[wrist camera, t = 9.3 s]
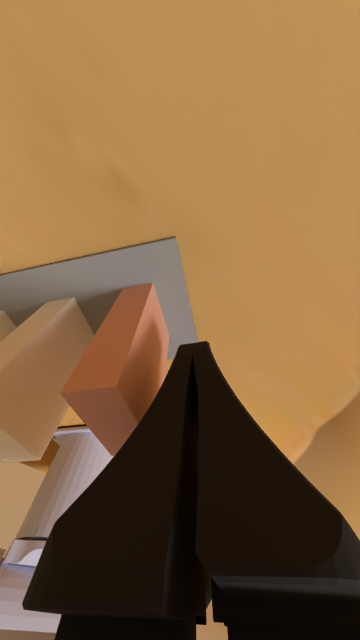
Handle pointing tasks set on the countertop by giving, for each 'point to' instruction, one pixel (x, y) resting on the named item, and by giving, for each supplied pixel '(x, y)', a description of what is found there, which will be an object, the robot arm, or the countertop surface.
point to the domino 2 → (121, 368)
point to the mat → (106, 286)
